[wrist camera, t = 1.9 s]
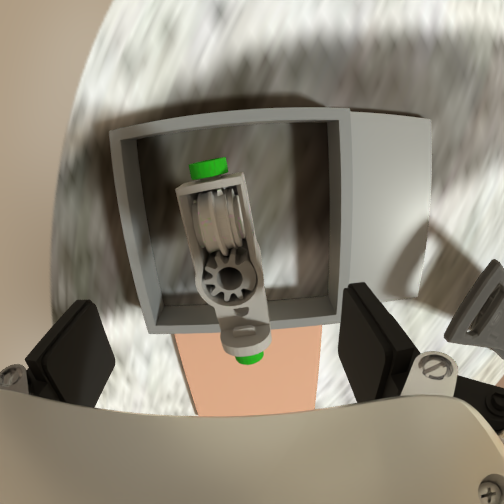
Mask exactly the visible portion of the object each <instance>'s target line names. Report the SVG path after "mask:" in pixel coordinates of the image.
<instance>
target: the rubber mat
mask: <svg viewBox="0 0 504 504" xmlns="http://www.w3.org/2000/svg"><path fill="white" fill-rule="evenodd" d="M220 334H221V333H192V334H175V338H176V342H177V346H178V350H179V353H180V357H181V360H182V364H183V367H184V371H185V374H186V378H187V381H188V384H189V387H190V391H191V394H192V397H193V400H194V403H195V406H196V409H197V412H198V415H199V416H247V415H264V414H277V413H288V412H297V411H306V410H314V409H315V400H316V391H317V381H318V371H319V360H320V348H321V334H322V325H317V326H307V327H296V328H285V329H273V330H271V336H272V341H271V344H270V345H269V347H268V348H267V349H265V350H264V351H263V352H264V356H263V358H262V359H261V360H260V361H259V362H257V363H255V364H251V365H243V364H240V363H238V362H237V361H236V358H235V356H232V355H229V354H227V353H226V352H225V351H224V349H223V346H222V343H221V339H220Z"/></svg>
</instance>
